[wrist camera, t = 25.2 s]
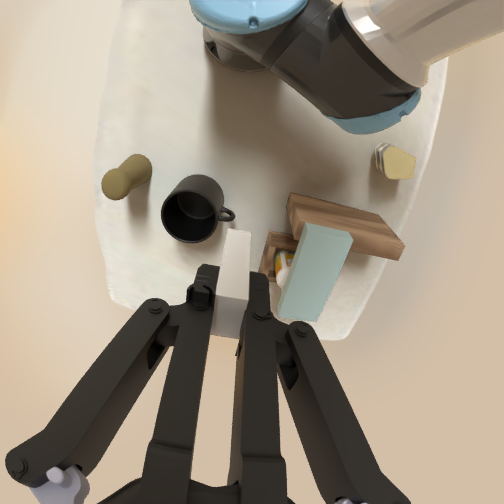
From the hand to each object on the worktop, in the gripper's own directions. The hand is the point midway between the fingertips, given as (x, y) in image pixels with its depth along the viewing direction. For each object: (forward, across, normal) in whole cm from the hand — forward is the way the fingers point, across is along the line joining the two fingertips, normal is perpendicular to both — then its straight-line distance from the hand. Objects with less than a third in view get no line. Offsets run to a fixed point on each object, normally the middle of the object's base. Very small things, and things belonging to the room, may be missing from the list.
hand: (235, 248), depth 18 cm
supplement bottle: (+32, +12, -19) cm, 39 cm away
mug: (+33, -6, -10) cm, 35 cm away
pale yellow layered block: (+33, +25, +6) cm, 42 cm away
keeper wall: (+32, +18, -7) cm, 38 cm away
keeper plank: (+20, +13, -14) cm, 28 cm away
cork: (+33, -20, -6) cm, 39 cm away
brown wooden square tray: (+32, +12, -19) cm, 39 cm away
